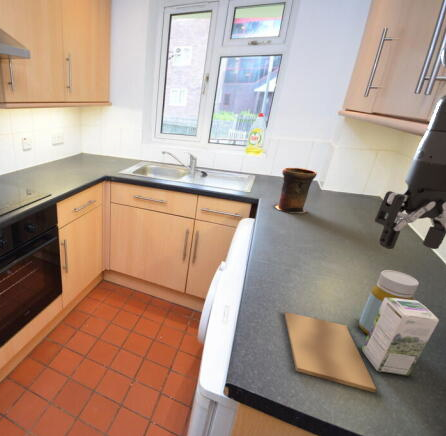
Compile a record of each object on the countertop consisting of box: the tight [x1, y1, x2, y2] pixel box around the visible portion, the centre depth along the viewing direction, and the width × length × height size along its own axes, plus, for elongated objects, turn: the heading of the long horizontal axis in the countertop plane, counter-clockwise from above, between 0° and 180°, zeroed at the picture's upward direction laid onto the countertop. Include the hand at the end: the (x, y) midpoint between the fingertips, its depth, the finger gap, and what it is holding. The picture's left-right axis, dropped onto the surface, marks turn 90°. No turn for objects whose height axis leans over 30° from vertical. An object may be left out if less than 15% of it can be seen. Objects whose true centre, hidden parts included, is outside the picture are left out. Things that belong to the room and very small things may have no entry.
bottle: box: [358, 269, 420, 335], centre depth 67 cm, size 7×7×15 cm
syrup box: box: [361, 297, 440, 376], centre depth 59 cm, size 6×6×14 cm
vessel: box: [275, 167, 318, 214], centre depth 147 cm, size 14×14×20 cm
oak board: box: [284, 311, 377, 394], centre depth 65 cm, size 13×18×1 cm
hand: (408, 247), depth 55 cm, fingers open, 8 cm apart
